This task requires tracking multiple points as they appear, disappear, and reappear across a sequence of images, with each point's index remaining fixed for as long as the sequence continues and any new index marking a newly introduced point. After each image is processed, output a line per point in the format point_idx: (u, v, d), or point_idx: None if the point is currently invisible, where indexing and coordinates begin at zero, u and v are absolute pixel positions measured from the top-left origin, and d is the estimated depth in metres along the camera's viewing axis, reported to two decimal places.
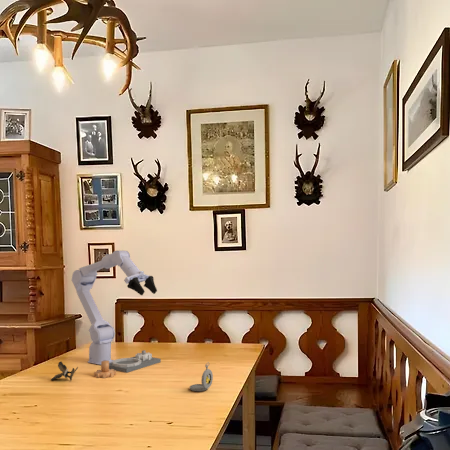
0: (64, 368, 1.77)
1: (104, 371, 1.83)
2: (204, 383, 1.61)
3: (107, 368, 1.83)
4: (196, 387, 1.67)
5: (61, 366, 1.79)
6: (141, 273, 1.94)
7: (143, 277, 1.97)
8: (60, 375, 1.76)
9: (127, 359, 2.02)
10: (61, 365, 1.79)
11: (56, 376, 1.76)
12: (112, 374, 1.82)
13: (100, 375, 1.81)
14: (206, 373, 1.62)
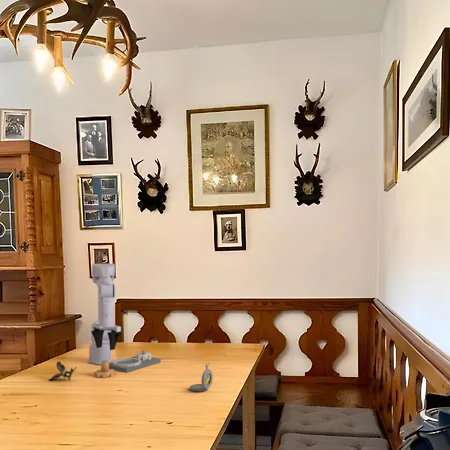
0: (62, 368, 1.78)
1: (104, 371, 1.83)
2: (204, 383, 1.61)
3: (107, 368, 1.83)
4: (196, 387, 1.67)
5: (59, 366, 1.79)
6: None
7: (108, 328, 1.83)
8: (58, 375, 1.76)
9: (127, 359, 2.02)
10: (59, 365, 1.79)
11: (54, 376, 1.76)
12: (112, 374, 1.82)
13: (100, 375, 1.81)
14: (206, 373, 1.62)
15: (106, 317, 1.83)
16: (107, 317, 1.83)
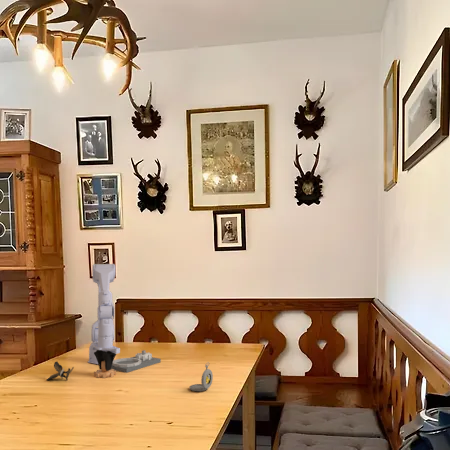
0: (60, 368, 1.78)
1: (104, 371, 1.83)
2: (204, 383, 1.61)
3: None
4: (196, 387, 1.67)
5: (57, 366, 1.79)
6: (99, 349, 1.82)
7: (107, 350, 1.83)
8: (56, 375, 1.76)
9: (127, 359, 2.02)
10: (57, 365, 1.79)
11: (52, 376, 1.76)
12: (112, 374, 1.82)
13: (100, 375, 1.81)
14: (206, 373, 1.62)
15: (105, 338, 1.82)
16: (106, 338, 1.82)
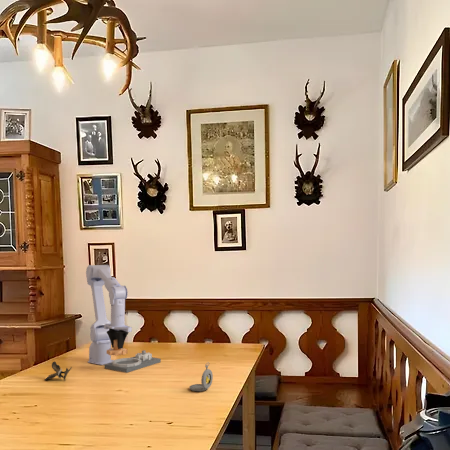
0: (58, 368, 1.78)
1: (116, 349, 1.90)
2: (204, 383, 1.61)
3: None
4: (196, 387, 1.67)
5: (55, 366, 1.79)
6: None
7: (119, 329, 1.90)
8: (54, 375, 1.76)
9: (127, 359, 2.02)
10: (55, 365, 1.79)
11: (50, 376, 1.76)
12: (124, 352, 1.89)
13: (112, 353, 1.88)
14: (206, 373, 1.62)
15: (118, 318, 1.90)
16: (119, 318, 1.90)
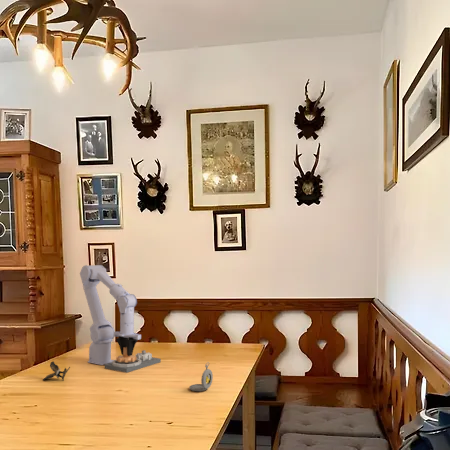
0: (56, 368, 1.78)
1: (126, 356, 1.96)
2: (204, 383, 1.61)
3: None
4: (196, 387, 1.67)
5: (53, 366, 1.79)
6: (121, 336, 1.95)
7: (129, 336, 1.96)
8: (52, 375, 1.76)
9: None
10: (53, 365, 1.79)
11: (48, 376, 1.76)
12: (133, 359, 1.95)
13: (122, 360, 1.94)
14: (206, 373, 1.62)
15: (127, 326, 1.95)
16: (128, 325, 1.95)
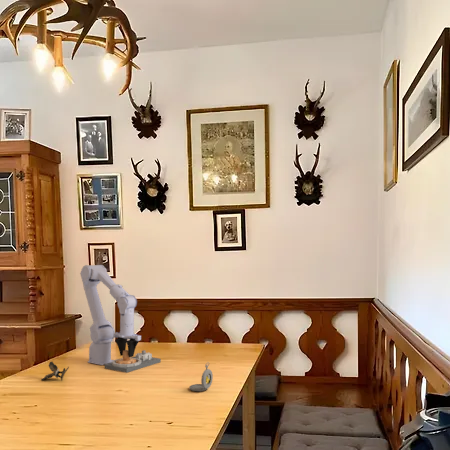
0: (55, 368, 1.78)
1: (125, 360, 1.95)
2: (204, 383, 1.61)
3: (128, 357, 1.96)
4: (196, 387, 1.67)
5: (52, 366, 1.79)
6: (121, 337, 1.95)
7: (129, 337, 1.96)
8: (51, 375, 1.76)
9: None
10: (52, 365, 1.79)
11: (47, 376, 1.76)
12: (133, 362, 1.95)
13: (122, 363, 1.93)
14: (206, 373, 1.62)
15: (127, 327, 1.95)
16: (128, 327, 1.95)
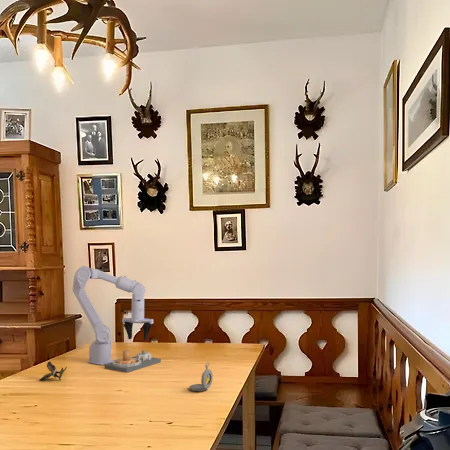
0: (53, 368, 1.78)
1: (125, 360, 1.95)
2: (204, 383, 1.61)
3: (128, 357, 1.96)
4: (196, 387, 1.67)
5: (50, 366, 1.79)
6: (134, 321, 2.07)
7: None
8: (49, 375, 1.76)
9: None
10: (50, 365, 1.79)
11: (45, 376, 1.76)
12: (133, 362, 1.95)
13: (122, 363, 1.93)
14: (206, 373, 1.62)
15: (140, 311, 2.08)
16: (141, 311, 2.08)
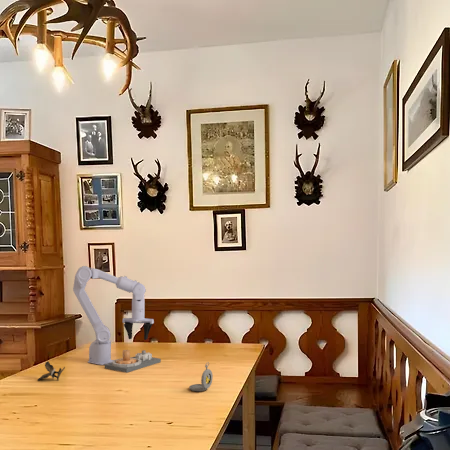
0: (51, 368, 1.78)
1: (125, 360, 1.95)
2: (204, 383, 1.61)
3: (128, 357, 1.96)
4: (196, 387, 1.67)
5: (48, 366, 1.79)
6: None
7: None
8: (47, 375, 1.76)
9: None
10: (48, 365, 1.79)
11: (43, 376, 1.76)
12: (133, 362, 1.95)
13: (122, 363, 1.93)
14: (206, 373, 1.62)
15: (140, 311, 2.09)
16: (141, 311, 2.09)
